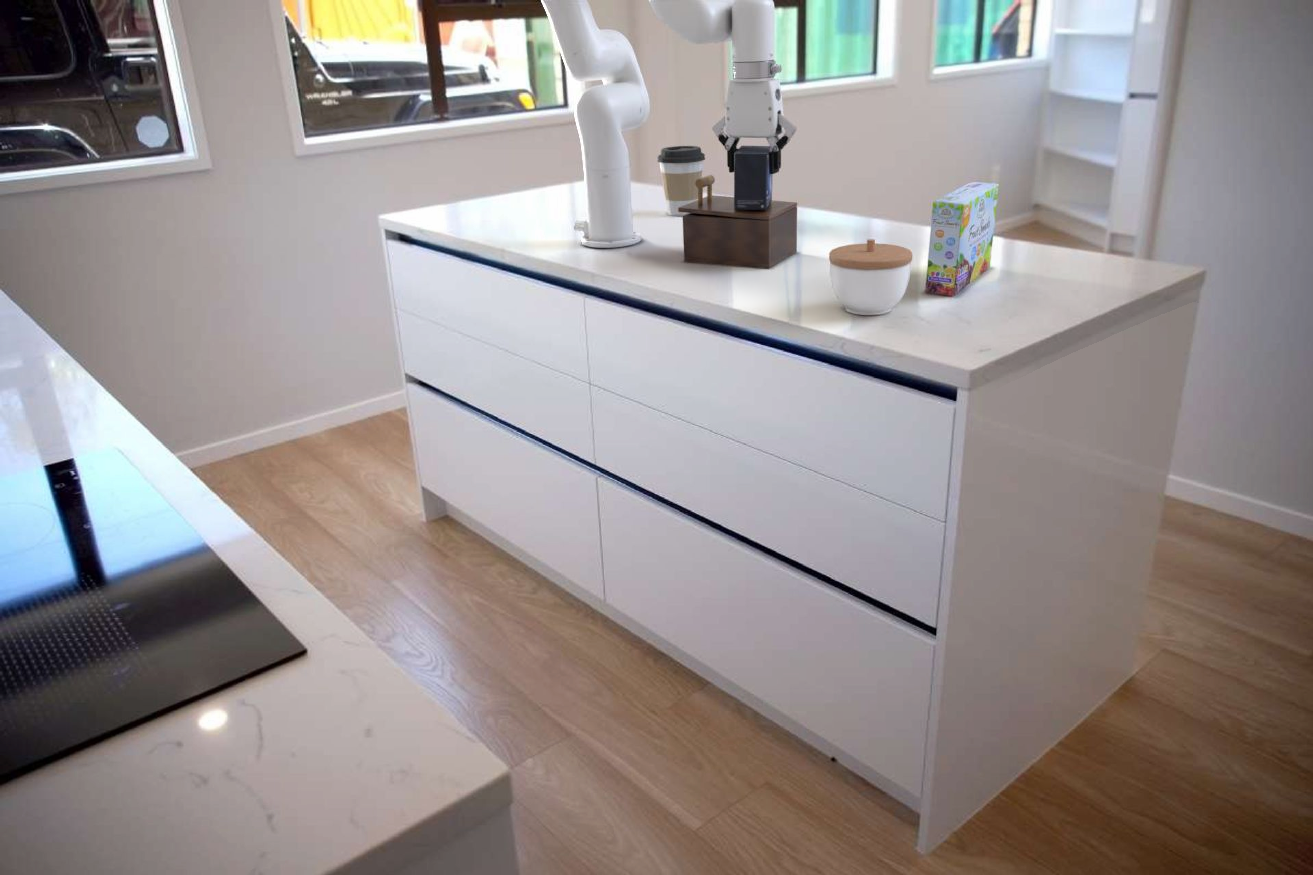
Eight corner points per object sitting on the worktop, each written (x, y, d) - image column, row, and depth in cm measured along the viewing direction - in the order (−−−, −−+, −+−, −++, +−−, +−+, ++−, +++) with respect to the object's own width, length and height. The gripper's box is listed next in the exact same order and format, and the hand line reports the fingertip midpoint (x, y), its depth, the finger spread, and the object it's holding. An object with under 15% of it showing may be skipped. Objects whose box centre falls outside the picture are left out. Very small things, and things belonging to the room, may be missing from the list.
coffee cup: (677, 207, 245) (674, 144, 240) (716, 210, 239) (714, 146, 233) (649, 215, 237) (646, 150, 231) (689, 219, 231) (687, 152, 225)
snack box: (957, 297, 161) (964, 203, 155) (923, 293, 164) (929, 201, 158) (992, 267, 178) (1000, 181, 172) (961, 265, 181) (967, 180, 175)
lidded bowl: (820, 301, 163) (821, 233, 159) (895, 296, 164) (899, 229, 159) (838, 323, 152) (840, 251, 147) (919, 317, 152) (924, 246, 148)
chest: (684, 261, 193) (682, 215, 189) (715, 246, 204) (714, 202, 200) (769, 269, 184) (769, 220, 181) (796, 252, 195) (797, 207, 192)
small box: (768, 211, 183) (768, 152, 179) (733, 211, 185) (732, 153, 180) (773, 200, 193) (773, 144, 189) (740, 200, 194) (739, 145, 190)
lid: (678, 211, 189) (677, 182, 187) (710, 199, 200) (710, 170, 198) (769, 220, 181) (769, 189, 179) (797, 206, 192) (798, 177, 190)
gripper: (806, 70, 178) (805, 170, 185) (718, 71, 186) (720, 167, 193) (790, 73, 172) (789, 177, 179) (700, 74, 180) (703, 173, 187)
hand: (753, 171), depth 186 cm, fingers closed on small box, 7 cm apart
